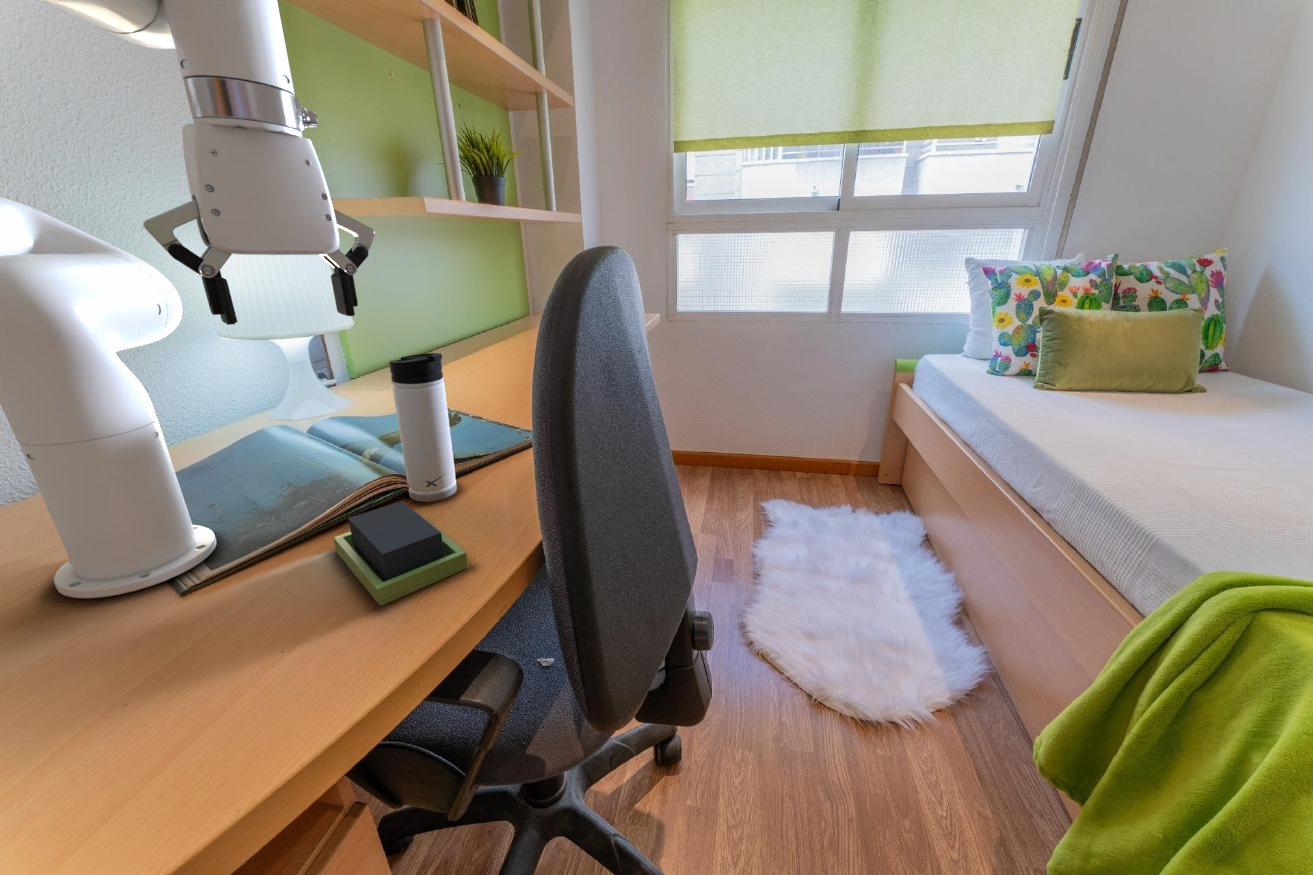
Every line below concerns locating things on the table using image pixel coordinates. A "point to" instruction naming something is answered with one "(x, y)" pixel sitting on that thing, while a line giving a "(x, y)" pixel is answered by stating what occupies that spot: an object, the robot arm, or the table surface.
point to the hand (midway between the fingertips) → (291, 318)
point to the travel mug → (424, 426)
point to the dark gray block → (395, 540)
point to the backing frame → (406, 582)
